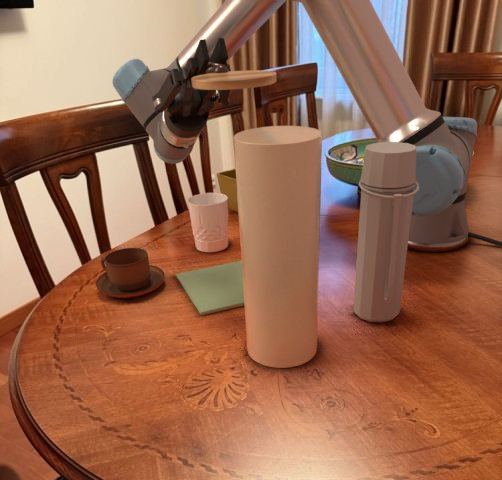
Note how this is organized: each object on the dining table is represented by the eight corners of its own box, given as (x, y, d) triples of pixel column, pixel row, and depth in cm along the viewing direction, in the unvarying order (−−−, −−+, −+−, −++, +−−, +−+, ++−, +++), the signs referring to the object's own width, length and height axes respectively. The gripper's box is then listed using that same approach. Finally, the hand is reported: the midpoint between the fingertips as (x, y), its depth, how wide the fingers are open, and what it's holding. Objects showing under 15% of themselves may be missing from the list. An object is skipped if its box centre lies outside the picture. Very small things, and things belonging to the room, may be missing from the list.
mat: (291, 294, 88) (291, 291, 87) (201, 315, 83) (200, 312, 83) (255, 260, 100) (255, 257, 100) (175, 276, 96) (175, 273, 95)
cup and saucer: (87, 303, 88) (78, 270, 85) (112, 273, 98) (106, 242, 95) (154, 305, 87) (149, 271, 83) (173, 273, 97) (169, 242, 93)
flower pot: (240, 218, 121) (238, 179, 116) (218, 210, 127) (215, 172, 122) (269, 209, 125) (268, 171, 120) (246, 201, 131) (244, 165, 126)
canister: (323, 333, 77) (329, 126, 61) (308, 372, 69) (311, 145, 53) (259, 325, 80) (249, 125, 64) (237, 362, 72) (220, 143, 56)
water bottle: (345, 304, 84) (354, 143, 71) (393, 300, 84) (411, 139, 71) (360, 334, 76) (373, 159, 63) (412, 329, 76) (437, 154, 63)
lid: (290, 83, 65) (290, 65, 63) (207, 92, 61) (205, 74, 60) (231, 70, 82) (230, 56, 81) (163, 77, 78) (161, 62, 77)
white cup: (227, 254, 103) (223, 205, 98) (188, 253, 105) (183, 205, 99) (234, 239, 110) (230, 192, 105) (198, 239, 111) (192, 192, 106)
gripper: (228, 134, 96) (270, 71, 73) (148, 144, 92) (167, 81, 69) (218, 93, 95) (258, 17, 73) (137, 102, 91) (153, 24, 69)
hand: (214, 48), depth 71 cm, fingers closed on lid, 2 cm apart
